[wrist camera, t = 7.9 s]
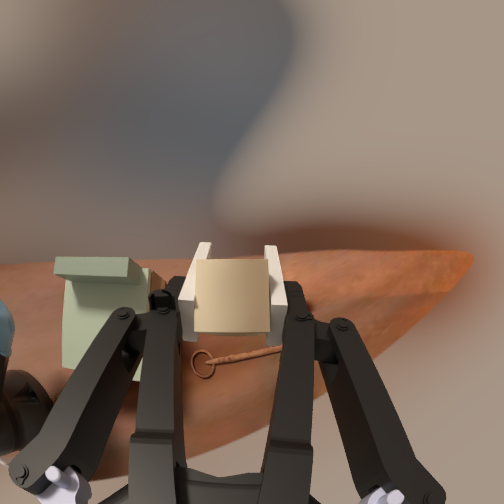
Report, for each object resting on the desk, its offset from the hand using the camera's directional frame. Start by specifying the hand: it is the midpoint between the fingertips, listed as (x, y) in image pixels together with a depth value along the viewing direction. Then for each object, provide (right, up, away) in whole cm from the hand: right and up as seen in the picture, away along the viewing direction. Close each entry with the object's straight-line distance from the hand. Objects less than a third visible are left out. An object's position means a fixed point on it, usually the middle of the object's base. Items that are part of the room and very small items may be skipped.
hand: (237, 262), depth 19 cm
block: (0, -5, +5) cm, 7 cm away
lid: (-16, -7, +9) cm, 20 cm away
